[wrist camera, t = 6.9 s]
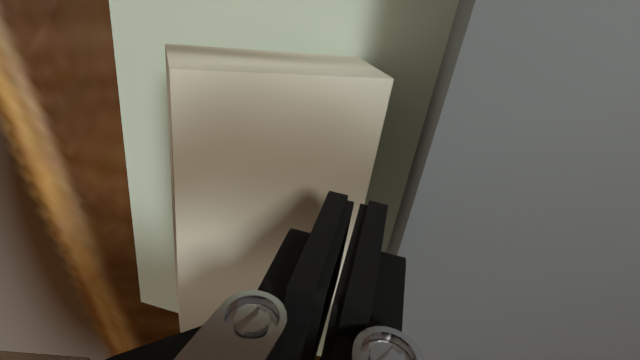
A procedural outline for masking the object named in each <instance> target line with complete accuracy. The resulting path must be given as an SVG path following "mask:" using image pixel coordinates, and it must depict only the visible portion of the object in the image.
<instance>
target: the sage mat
mask: <svg viewBox="0 0 640 360" xmlns="http://www.w3.org/2000/svg"><path fill="white" fill-rule="evenodd" d="M458 3H459V0H109V6H110V15H111V25H112V34H113V44H114V53H115V62H116V72H117V81H118V91H119V100H120V109H121V119H122V128H123V138H124V147H125V156H126V166H127V175H128V185H129V194H130V203H131V213H132V222H133V232H134V241H135V250H136V260H137V269H138V279H139V288H140V297H141V302H143V303H146V304H150V305H153V306H156V307H160V308H163V309H166V310H169V311H173V312H176V313H178V302H177V291H176V277H175V255H174V233H173V211H172V189H171V167H170V145H169V123H168V101H167V80H166V58H165V44H178V45H193V46H208V47H223V48H238V49H253V50H268V51H283V52H298V53H313V54H328V55H343V56H357V57H359V58H360V59H362V60H364V61H365V62H367V63H369V64H370V65H372V66H374V67H375V68H377V69H379V70H380V71H382V72H384V73H385V74H387V75H389V76H390V77H392V78H394V81H393V85H392V90H391V94H390V98H389V102H388V107H387V111H386V115H385V119H384V123H383V128H382V132H381V136H380V140H379V145H378V149H377V153H376V157H375V162H374V166H373V170H372V174H371V178H370V183H369V187H368V191H367V195H366V200H365V205H368V203H369V200H370V201H374V202H378V203H383V204H387V205H388V210H387V216H386V223H385V229H384V236H383V242H382V249H381V251H382V252H387V249H388V245H389V242H390V238H391V235H392V231H393V228H394V225H395V221H396V218H397V214H398V211H399V207H400V204H401V200H402V197H403V193H404V190H405V186H406V183H407V180H408V176H409V173H410V169H411V166H412V162H413V159H414V155H415V152H416V148H417V145H418V142H419V138H420V135H421V131H422V128H423V124H424V121H425V117H426V114H427V110H428V107H429V103H430V100H431V97H432V93H433V90H434V86H435V83H436V79H437V76H438V72H439V69H440V65H441V62H442V59H443V55H444V52H445V48H446V45H447V41H448V38H449V34H450V31H451V27H452V24H453V20H454V17H455V14H456V10H457V7H458ZM331 309H332V305H331V306H330V308H329V312H328V315H327V319H326V323H325V326H324V330H323V333H322V337H321V340H320V344H319V347H318V351H317V354H316V355H318V356H321V355H322V350H323V346H324V341H325V336H326V332H327V327H328V323H329V318H330V314H331Z"/></svg>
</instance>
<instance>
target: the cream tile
mask: <svg viewBox="0 0 640 360" xmlns="http://www.w3.org/2000/svg"><path fill="white" fill-rule="evenodd" d="M165 58H166V80H167V101H168V123H169V145H170V167H171V189H172V211H173V233H174V255H175V277H176V291H177V302H178V313H179V324H180V333H182V332H185V331H188V330H191V329H193V328H196V327H199V326H202V325H204V323H205V322H206V321H207V320H208V319H209V318H210V317H211V315H212V314H213V313H214V312H215V311H216V310H217V308H218V307H219V306H220V305H221V304H222V303H223V302H224V301H225V300H226V299H227V298H228V297H230V296H232V295H234V294H236V293H238V292H242V291H247V290H258V288H259V286H260V284H261V282H262V280H263V278H264V276H265V275H266V273H267V271H268V269H269V267H270V265H271V263H272V261H273V259H274V258H275V256H276V254H277V252H278V250H279V248H280V246H281V244H282V242H283V240H284V239H285V237H286V235H287V233H288V231H289V230H290V229H291V228H293V229H297V230H301V231H305V232H309V233H311V231H312V228H313V226H314V224H315V222H316V219H317V217H318V215H319V212H320V210H321V208H322V206H323V203H324V201H325V199H326V196H327V194H328V192H329V191H333V192H337V193H341V194H345V195H348V200H349V201H353V202H354V206H353V211H352V216H351V220H350V225H349V229H348V234H347V239H346V243H345V248H344V252H343V257H342V262H341V266H340V271H339V275H338V279H337V283H336V287H335V291H334V294H333V298H332V301H331V305H333V301H334V297H335V293H336V289H337V286H338V282H339V278H340V275H341V271H342V268H343V264H344V260H345V257H346V253H347V250H348V246H349V242H350V239H351V235H352V232H353V228H354V224H355V221H356V217H357V214H358V210H359V206H360V203H361V204H365V200H366V195H367V191H368V187H369V183H370V178H371V174H372V170H373V166H374V162H375V157H376V153H377V149H378V145H379V140H380V136H381V132H382V128H383V123H384V119H385V115H386V111H387V107H388V102H389V98H390V94H391V90H392V85H393V81H394V78H392V77H390V76H389V75H387V74H385V73H384V72H382V71H380V70H379V69H377V68H375V67H374V66H372V65H370V64H369V63H367V62H365V61H364V60H362V59H360V58H359V57H357V56H343V55H328V54H313V53H298V52H283V51H268V50H253V49H238V48H223V47H208V46H193V45H178V44H165ZM331 305H330V306H331Z"/></svg>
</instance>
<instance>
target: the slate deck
mask: <svg viewBox="0 0 640 360" xmlns="http://www.w3.org/2000/svg"><path fill="white" fill-rule="evenodd" d="M386 253H390V254H394V255H397V256H401V257H405V258H406V273H405V289H404V306H403V322H402V333H404V334H406V335H407V336H408V337H410V338H411V339H412V340H413V341H414V342H415V343H416V344H417V346H418V347H419V349H420V350H421V352H422V355H423V358H424V360H640V0H459V3H458V7H457V10H456V14H455V17H454V20H453V24H452V27H451V31H450V34H449V38H448V41H447V45H446V48H445V52H444V55H443V59H442V62H441V65H440V69H439V72H438V76H437V79H436V83H435V86H434V90H433V93H432V97H431V100H430V103H429V107H428V110H427V114H426V117H425V121H424V124H423V128H422V131H421V135H420V138H419V142H418V145H417V148H416V152H415V155H414V159H413V162H412V166H411V169H410V173H409V176H408V180H407V183H406V186H405V190H404V193H403V197H402V200H401V204H400V207H399V211H398V214H397V218H396V221H395V225H394V228H393V231H392V235H391V238H390V242H389V245H388V249H387V252H386Z"/></svg>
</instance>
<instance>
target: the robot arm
mask: <svg viewBox="0 0 640 360" xmlns="http://www.w3.org/2000/svg"><path fill="white" fill-rule="evenodd" d="M353 206H354V202H353V201H349V200H348V195H345V194H341V193H337V192H333V191H329V192H328V194H327V196H326V199H325V201H324V203H323V206H322V208H321V210H320V212H319V215H318V217H317V219H316V222H315V224H314V226H313V228H312V231H311V233H309V232H305V231H301V230H297V229H293V228H291V229H290V230H289V231H288V233H287V235H286V237H285V239H284V240H283V242H282V244H281V246H280V248H279V250H278V252H277V254H276V256H275V258H274V259H273V261H272V263H271V265H270V267H269V269H268V271H267V273H266V275H265V276H264V278H263V280H262V282H261V284H260V286H259V288H258V290H247V291H242V292H238V293H236V294H234V295H232V296H230V297H228V298H227V299H226V300H225V301H224V302H223V303H222V304H221V305H220V306H219V307H218V308H217V310H216V311H215V312H214V313H213V314H212V315H211V317H210V318H209V319H208V320H207V321H206V322H205V323H204V325H202V326H199V327H196V328H193V329H191V330H188V331H185V332H182V333H179V334H176V335H173V336H170V337H167V338H164V339H162V340H159V341H156V342H153V343H150V344H147V345H144V346H141V347H138V348H135V349H133V350H130V351H127V352H124V353H121V354H118V355H115V356H112V357H110V358H108V359H106V360H315V358H316V354H317V351H318V347H319V344H320V340H321V337H322V333H323V330H324V326H325V323H326V319H327V315H328V312H329V308H330V305H331V301H332V298H333V294H334V291H335V287H336V283H337V279H338V275H339V271H340V266H341V262H342V257H343V252H344V248H345V243H346V239H347V234H348V229H349V225H350V220H351V216H352V211H353ZM387 210H388V205H387V204H383V203H378V202H374V201H370V200H369V203H368V205H365V204H361V203H360V206H359V210H358V214H357V217H356V221H355V224H354V228H353V232H352V235H351V239H350V242H349V246H348V250H347V253H346V257H345V260H344V264H343V268H342V271H341V275H340V278H339V282H338V286H337V289H336V293H335V297H334V301H333V305H332V309H331V314H330V318H329V323H328V327H327V332H326V336H325V341H324V346H323V350H322V355H321V359H320V360H424V358H423V355H422V352H421V350H420V349H419V347H418V346H417V344H416V343H415V342H414V341H413V340H412V339H411V338H410V337H408V336H407V335H406V334H404V333H402V322H403V306H404V289H405V273H406V258H405V257H401V256H397V255H394V254H390V253H386V252H382V251H381V249H382V242H383V236H384V229H385V223H386V216H387ZM0 360H90V359H89V358H85V357H72V356H59V355H47V354H34V353H20V352H8V351H0Z"/></svg>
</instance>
